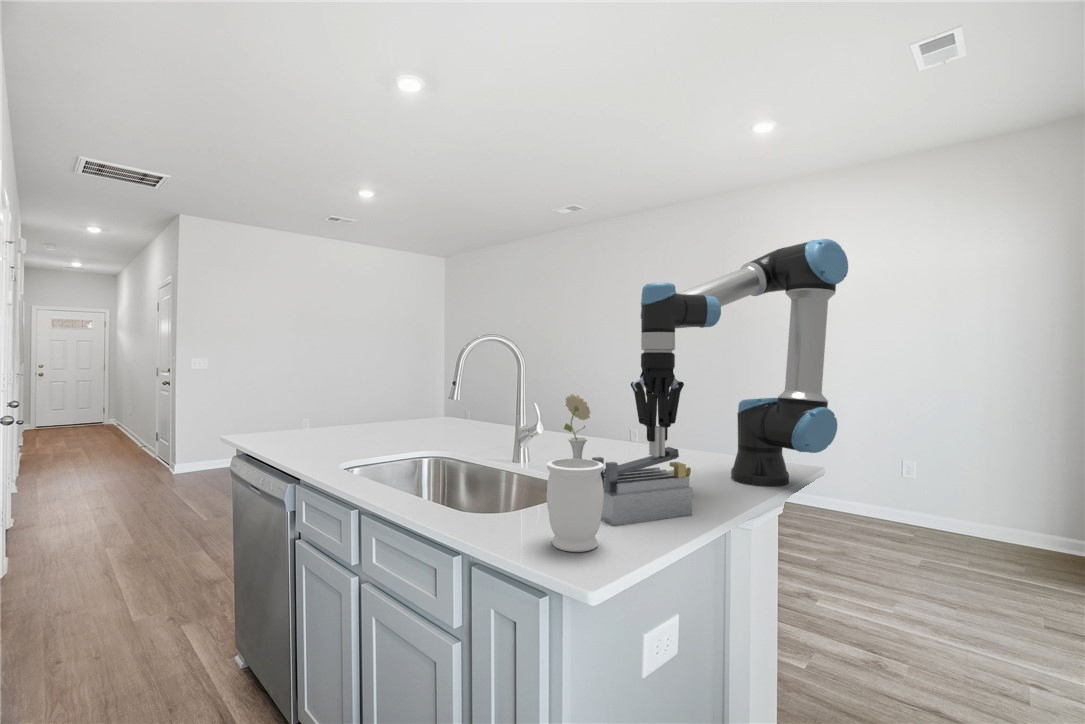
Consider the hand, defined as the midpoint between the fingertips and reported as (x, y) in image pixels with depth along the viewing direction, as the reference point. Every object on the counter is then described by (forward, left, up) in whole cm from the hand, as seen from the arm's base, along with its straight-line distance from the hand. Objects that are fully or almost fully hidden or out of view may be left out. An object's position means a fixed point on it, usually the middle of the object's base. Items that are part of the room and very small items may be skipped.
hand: (656, 455), depth 122 cm
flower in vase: (+11, -20, -12) cm, 26 cm away
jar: (+28, +14, -12) cm, 33 cm away
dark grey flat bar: (+4, 0, -2) cm, 4 cm away
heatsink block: (+6, 0, -12) cm, 13 cm away
